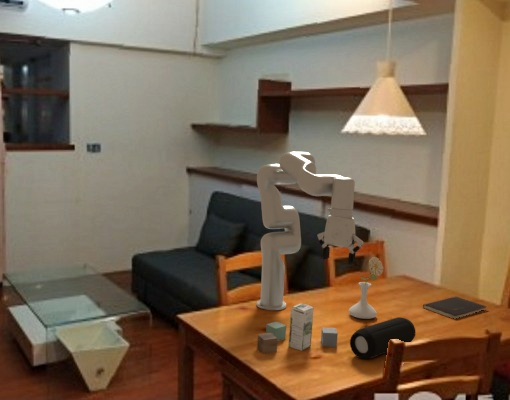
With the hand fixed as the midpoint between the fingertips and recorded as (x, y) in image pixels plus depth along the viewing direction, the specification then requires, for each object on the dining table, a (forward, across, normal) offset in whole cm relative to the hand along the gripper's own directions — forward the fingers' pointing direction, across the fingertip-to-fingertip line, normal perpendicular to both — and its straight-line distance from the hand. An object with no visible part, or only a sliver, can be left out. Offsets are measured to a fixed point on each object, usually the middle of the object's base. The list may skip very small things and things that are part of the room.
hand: (338, 261), depth 186 cm
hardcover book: (+30, +24, +68) cm, 78 cm away
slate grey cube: (+30, 0, -3) cm, 30 cm away
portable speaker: (+30, +17, +5) cm, 35 cm away
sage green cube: (+30, -17, -11) cm, 36 cm away
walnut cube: (+30, -14, -22) cm, 39 cm away
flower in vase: (+30, -3, +32) cm, 44 cm away
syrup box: (+30, -7, -12) cm, 33 cm away
